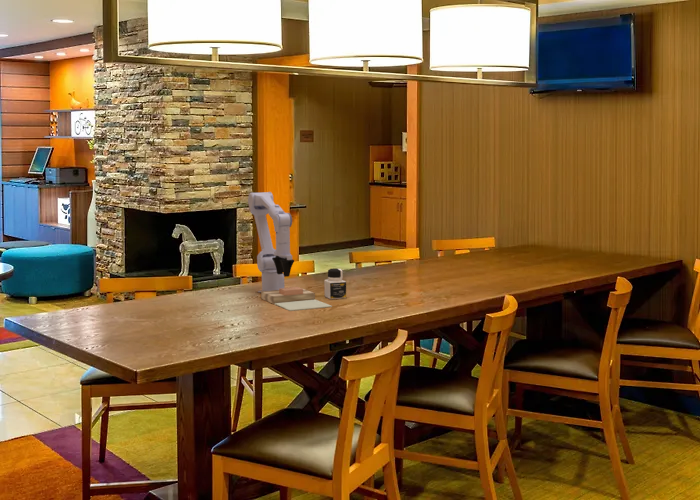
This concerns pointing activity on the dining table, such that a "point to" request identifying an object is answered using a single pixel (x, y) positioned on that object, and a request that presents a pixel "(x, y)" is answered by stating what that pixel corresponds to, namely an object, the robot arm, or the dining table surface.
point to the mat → (302, 305)
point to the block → (291, 291)
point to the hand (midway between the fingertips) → (283, 275)
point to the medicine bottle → (335, 284)
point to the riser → (286, 296)
